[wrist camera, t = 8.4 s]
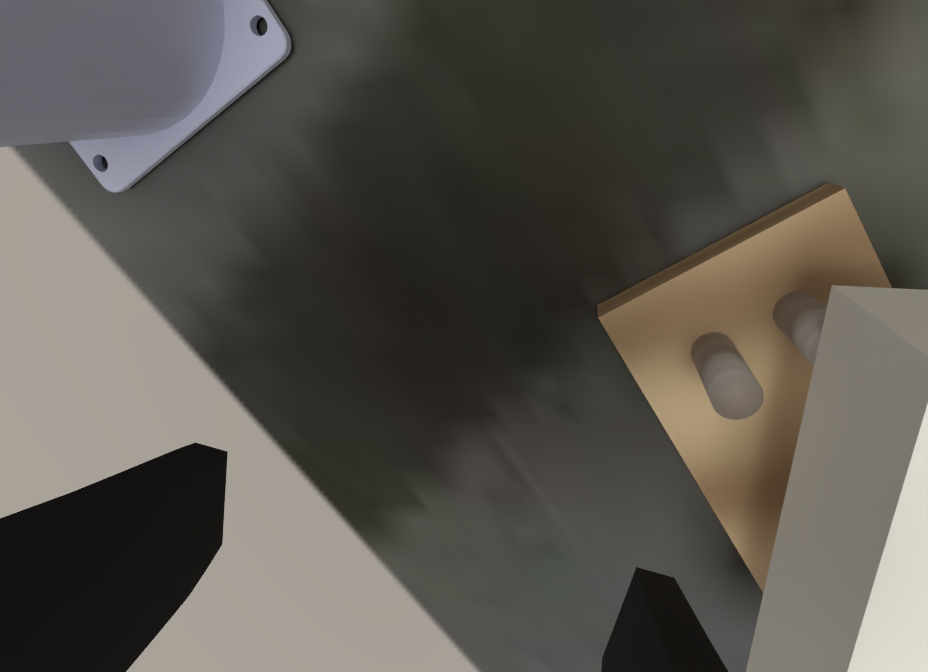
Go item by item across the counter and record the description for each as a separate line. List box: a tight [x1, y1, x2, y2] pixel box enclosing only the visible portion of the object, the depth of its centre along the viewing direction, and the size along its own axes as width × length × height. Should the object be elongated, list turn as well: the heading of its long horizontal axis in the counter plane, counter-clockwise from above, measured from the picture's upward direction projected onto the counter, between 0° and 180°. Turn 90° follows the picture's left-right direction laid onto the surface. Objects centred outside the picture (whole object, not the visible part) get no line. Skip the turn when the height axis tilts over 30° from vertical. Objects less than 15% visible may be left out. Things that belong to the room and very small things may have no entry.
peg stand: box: [597, 183, 892, 593], centre depth 18 cm, size 14×7×4 cm, turn 33°
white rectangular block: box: [746, 285, 928, 672], centre depth 14 cm, size 12×4×4 cm, turn 0°
